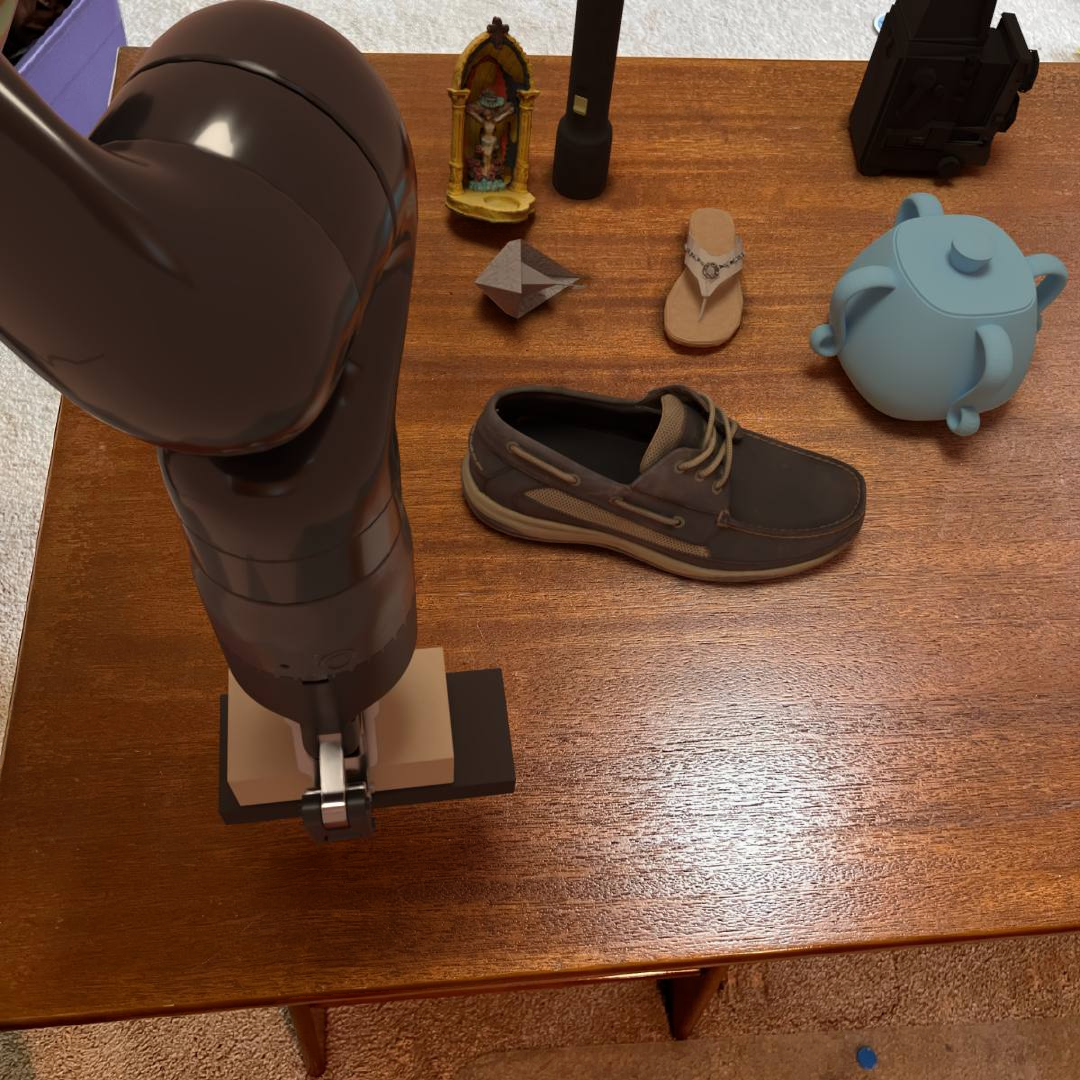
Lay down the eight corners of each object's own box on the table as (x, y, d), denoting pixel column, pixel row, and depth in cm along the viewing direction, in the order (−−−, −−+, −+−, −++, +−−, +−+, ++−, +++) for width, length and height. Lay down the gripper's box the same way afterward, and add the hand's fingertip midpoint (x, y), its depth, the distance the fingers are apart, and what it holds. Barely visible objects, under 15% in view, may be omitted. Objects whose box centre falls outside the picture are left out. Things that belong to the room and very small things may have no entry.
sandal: (661, 353, 88) (671, 310, 84) (665, 221, 97) (674, 176, 92) (741, 362, 89) (756, 319, 84) (738, 229, 97) (751, 184, 92)
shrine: (444, 163, 99) (441, 9, 86) (532, 164, 100) (543, 11, 87) (445, 252, 93) (443, 101, 80) (539, 252, 94) (552, 102, 81)
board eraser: (225, 826, 52) (203, 789, 47) (227, 709, 55) (206, 664, 50) (514, 793, 54) (520, 754, 49) (500, 683, 57) (504, 636, 52)
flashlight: (566, 156, 100) (542, 187, 98) (594, -112, 80) (564, -81, 78) (615, 175, 100) (591, 207, 97) (656, -91, 79) (627, -59, 77)
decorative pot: (772, 363, 89) (819, 237, 77) (879, 265, 95) (937, 136, 84) (940, 479, 84) (1017, 363, 72) (1041, 367, 90) (1126, 245, 79)
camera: (997, 191, 102) (1106, -13, 85) (856, 183, 101) (937, -24, 84) (975, 122, 107) (1073, -83, 90) (840, 114, 106) (914, -94, 89)
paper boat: (516, 229, 93) (615, 238, 90) (513, 303, 96) (610, 316, 92) (449, 242, 83) (559, 253, 80) (448, 325, 86) (555, 340, 82)
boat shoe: (858, 598, 77) (911, 518, 68) (451, 563, 77) (450, 477, 68) (845, 475, 83) (892, 385, 74) (466, 441, 83) (467, 346, 73)
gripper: (207, 426, 42) (268, 623, 56) (198, 782, 35) (271, 904, 49) (400, 414, 43) (412, 610, 57) (431, 757, 36) (436, 884, 50)
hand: (347, 745), depth 53 cm, fingers closed on board eraser, 6 cm apart
